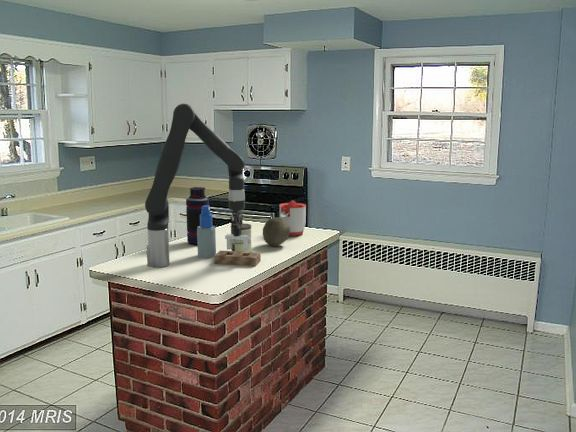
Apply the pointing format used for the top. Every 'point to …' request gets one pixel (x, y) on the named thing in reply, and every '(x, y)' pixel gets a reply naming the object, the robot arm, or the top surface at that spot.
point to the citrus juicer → (294, 216)
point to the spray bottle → (206, 234)
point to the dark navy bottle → (195, 211)
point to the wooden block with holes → (237, 258)
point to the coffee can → (238, 244)
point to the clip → (240, 237)
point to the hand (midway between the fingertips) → (237, 235)
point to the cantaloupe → (276, 231)
